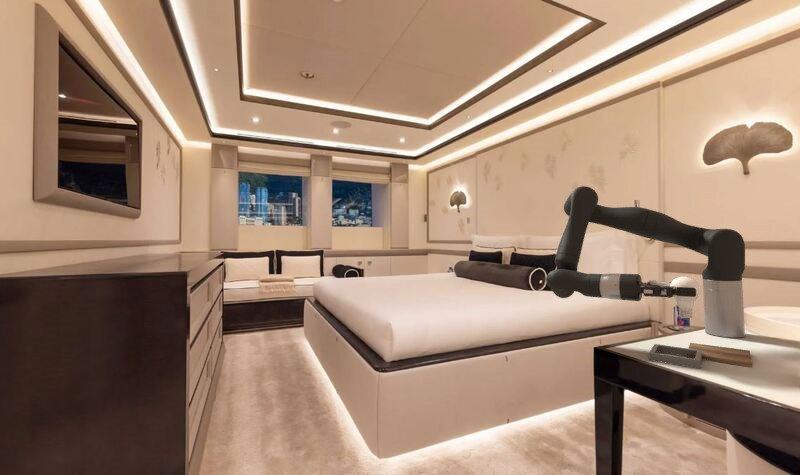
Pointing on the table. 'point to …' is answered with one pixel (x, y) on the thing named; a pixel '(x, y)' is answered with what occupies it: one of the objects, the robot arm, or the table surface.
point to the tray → (675, 359)
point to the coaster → (722, 354)
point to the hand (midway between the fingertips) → (696, 290)
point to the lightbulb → (683, 301)
